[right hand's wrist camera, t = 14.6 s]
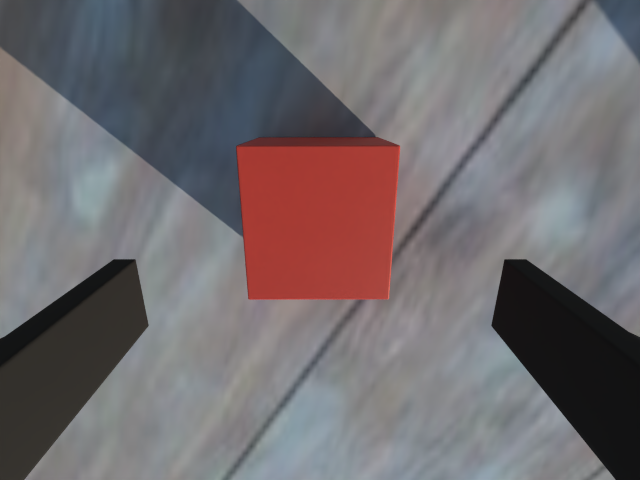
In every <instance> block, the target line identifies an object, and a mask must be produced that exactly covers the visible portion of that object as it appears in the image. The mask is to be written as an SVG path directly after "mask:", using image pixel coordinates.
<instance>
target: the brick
mask: <svg viewBox="0 0 640 480" xmlns="http://www.w3.org/2000/svg"><path fill="white" fill-rule="evenodd" d="M236 152H237V164H238V177H239V189H240V201H241V214H242V226H243V238H244V251H245V263H246V276H247V288H248V299H389V289H390V275H391V262H392V248H393V235H394V222H395V208H396V195H397V181H398V168H399V154H400V146H399V145H397V144H394V143H391V142H389V141H386V140H383V139H381V138H378V137H263V138H256V139H254V140H251V141H248V142H246V143H243V144H240V145H238V146H236Z"/></svg>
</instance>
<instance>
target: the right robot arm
mask: <svg viewBox="0 0 640 480" xmlns="http://www.w3.org/2000/svg"><path fill="white" fill-rule="evenodd" d="M148 326H149V325H148V320H147V315H146V310H145V305H144V300H143V295H142V290H141V285H140V280H139V275H138V270H137V265H136V260H135V259H114V260H112V261H111V262H110V263H108V264H107V265H105V266H104V267H103V268H101V269H100V270H98V271H97V272H95V273H94V274H93V275H91V276H90V277H88V278H87V279H86V280H84V281H83V282H81V283H80V284H79V285H77V286H76V287H74V288H73V289H71V290H70V291H69V292H67V293H66V294H64V295H63V296H62V297H60V298H59V299H57V300H56V301H54V302H53V303H52V304H50V305H49V306H47V307H46V308H45V309H43V310H42V311H40V312H39V313H38V314H36V315H35V316H33V317H32V318H30V319H29V320H28V321H26V322H25V323H23V324H22V325H21V326H19V327H18V328H16V329H15V330H13V331H12V332H11V333H9V334H8V335H6V336H5V337H3V338H1V339H0V480H24V479H25V478H26V477H27V476H28V474H29V473H30V472H31V471H32V469H33V468H34V467H35V466H36V464H37V463H38V462H39V461H40V459H41V458H42V457H43V456H44V454H45V453H46V452H47V451H48V450H49V448H50V447H51V446H52V445H53V443H54V442H55V441H56V440H57V438H58V437H59V436H60V435H61V433H62V432H63V431H64V430H65V429H66V427H67V426H68V425H69V424H70V422H71V421H72V420H73V419H74V417H75V416H76V415H77V414H78V412H79V411H80V410H81V409H82V407H83V406H84V405H85V404H86V403H87V401H88V400H89V399H90V398H91V396H92V395H93V394H94V393H95V391H96V390H97V389H98V388H99V386H100V385H101V384H102V383H103V382H104V380H105V379H106V378H107V377H108V375H109V374H110V373H111V372H112V370H113V369H114V368H115V367H116V365H117V364H118V363H119V362H120V360H121V359H122V358H123V357H124V356H125V354H126V353H127V352H128V351H129V349H130V348H131V347H132V346H133V344H134V343H135V342H136V341H137V339H138V338H139V337H140V336H141V334H142V333H143V332H144V331H145V330H146V328H147V327H148ZM491 326H492V327H493V328H494V330H495V331H496V332H497V333H498V334H499V336H500V337H501V338H502V339H503V341H504V342H505V343H506V344H507V346H508V347H509V348H510V349H511V351H512V352H513V353H514V354H515V356H516V357H517V358H518V359H519V360H520V362H521V363H522V364H523V365H524V367H525V368H526V369H527V370H528V372H529V373H530V374H531V375H532V377H533V378H534V379H535V380H536V382H537V383H538V384H539V385H540V386H541V388H542V389H543V390H544V391H545V393H546V394H547V395H548V396H549V398H550V399H551V400H552V401H553V403H554V404H555V405H556V406H557V407H558V409H559V410H560V411H561V412H562V414H563V415H564V416H565V417H566V419H567V420H568V421H569V422H570V424H571V425H572V426H573V427H574V429H575V430H576V431H577V432H578V433H579V435H580V436H581V437H582V438H583V440H584V441H585V442H586V443H587V445H588V446H589V447H590V448H591V450H592V451H593V452H594V453H595V454H596V456H597V457H598V458H599V459H600V461H601V462H602V463H603V464H604V466H605V467H606V468H607V469H608V471H609V472H610V473H611V474H612V476H613V477H614V478H615V479H616V480H640V337H638V336H636V335H634V334H632V333H630V332H628V331H627V330H625V329H624V328H622V327H621V326H619V325H618V324H617V323H615V322H614V321H612V320H611V319H610V318H608V317H607V316H605V315H604V314H602V313H601V312H600V311H598V310H597V309H595V308H594V307H593V306H591V305H590V304H588V303H587V302H586V301H584V300H583V299H581V298H580V297H578V296H577V295H576V294H574V293H573V292H571V291H570V290H569V289H567V288H566V287H564V286H563V285H561V284H560V283H559V282H557V281H556V280H554V279H553V278H552V277H550V276H549V275H547V274H546V273H545V272H543V271H542V270H540V269H539V268H537V267H536V266H535V265H533V264H532V263H530V262H529V261H528V260H526V259H505V260H504V265H503V270H502V275H501V280H500V285H499V290H498V295H497V300H496V305H495V310H494V315H493V320H492V325H491Z"/></svg>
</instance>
